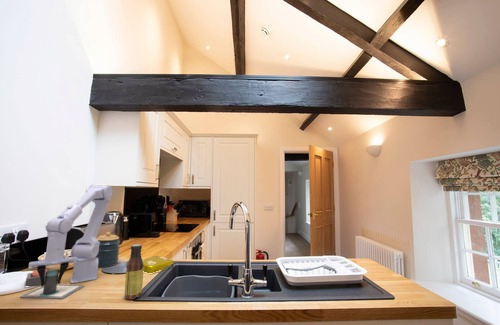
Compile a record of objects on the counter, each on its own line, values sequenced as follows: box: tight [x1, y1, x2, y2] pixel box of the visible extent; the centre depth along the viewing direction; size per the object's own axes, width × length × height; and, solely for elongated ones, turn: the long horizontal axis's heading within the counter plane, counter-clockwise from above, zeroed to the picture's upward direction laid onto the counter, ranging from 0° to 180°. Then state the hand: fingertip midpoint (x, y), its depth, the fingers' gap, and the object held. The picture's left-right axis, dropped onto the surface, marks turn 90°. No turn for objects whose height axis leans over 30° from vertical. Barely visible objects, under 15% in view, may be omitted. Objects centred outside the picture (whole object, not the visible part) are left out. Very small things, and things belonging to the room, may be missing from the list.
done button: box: [31, 268, 48, 277], centre depth 101 cm, size 5×5×3 cm
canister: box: [95, 231, 121, 269], centre depth 129 cm, size 13×13×18 cm
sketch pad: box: [19, 283, 86, 300], centre depth 92 cm, size 16×12×1 cm
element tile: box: [142, 255, 174, 273], centre depth 125 cm, size 15×15×5 cm
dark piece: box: [43, 268, 60, 295], centre depth 90 cm, size 4×4×8 cm
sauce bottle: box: [123, 243, 144, 300], centre depth 92 cm, size 7×6×20 cm
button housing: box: [24, 272, 45, 287], centre depth 100 cm, size 8×8×4 cm
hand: (50, 284), depth 90 cm, fingers open, 4 cm apart
